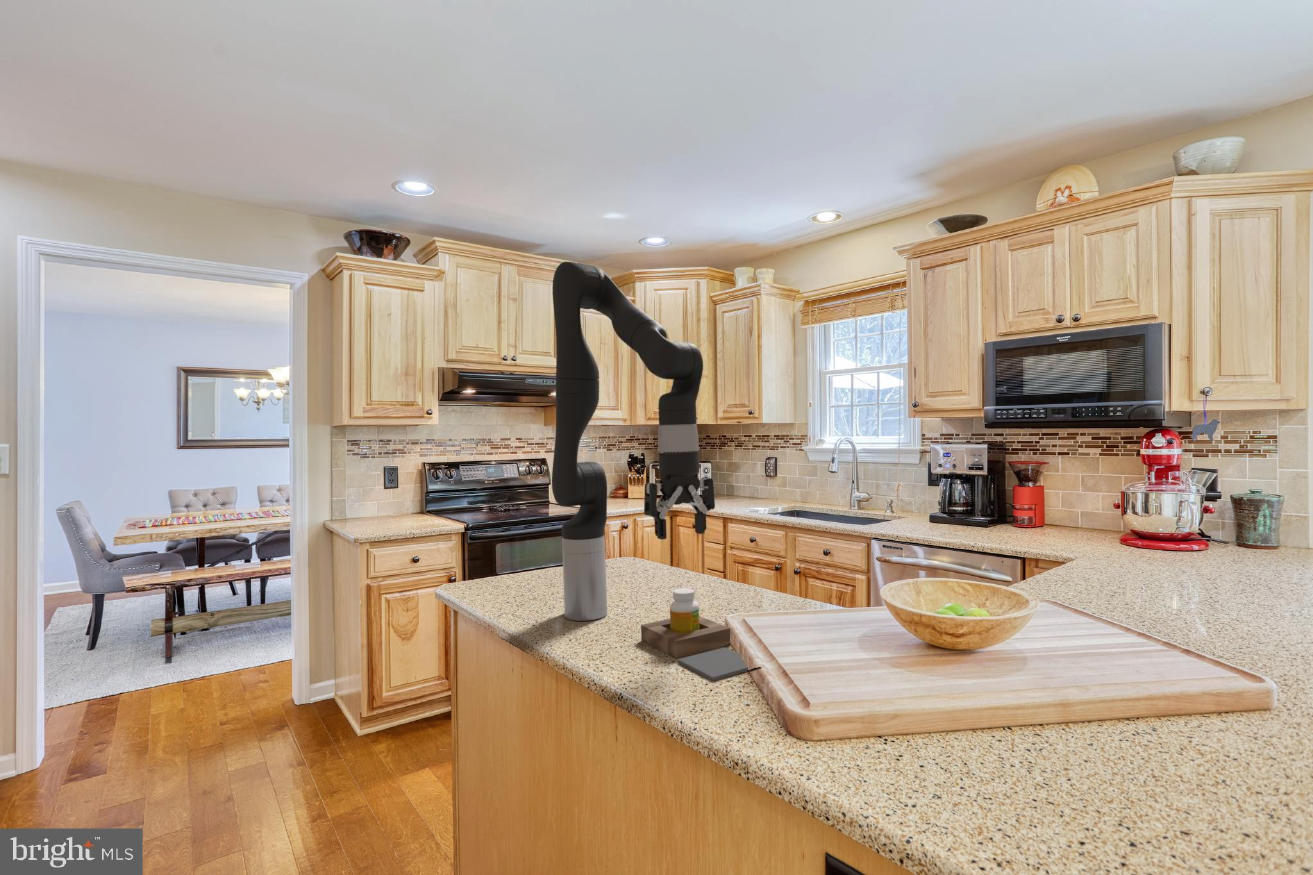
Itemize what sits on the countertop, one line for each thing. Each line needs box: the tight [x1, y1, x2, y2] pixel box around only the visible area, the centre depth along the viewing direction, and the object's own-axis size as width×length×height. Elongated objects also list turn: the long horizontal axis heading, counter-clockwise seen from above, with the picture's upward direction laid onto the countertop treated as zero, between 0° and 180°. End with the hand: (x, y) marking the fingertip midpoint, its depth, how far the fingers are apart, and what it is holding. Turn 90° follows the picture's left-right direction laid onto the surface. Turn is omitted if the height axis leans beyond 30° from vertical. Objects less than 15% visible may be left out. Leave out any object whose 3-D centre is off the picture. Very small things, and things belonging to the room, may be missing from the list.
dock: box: [640, 615, 731, 659], centre depth 123 cm, size 12×12×3 cm
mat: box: [677, 646, 748, 682], centre depth 111 cm, size 10×10×1 cm
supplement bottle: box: [669, 587, 700, 634], centre depth 123 cm, size 5×5×10 cm
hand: (681, 536), depth 123 cm, fingers open, 8 cm apart
